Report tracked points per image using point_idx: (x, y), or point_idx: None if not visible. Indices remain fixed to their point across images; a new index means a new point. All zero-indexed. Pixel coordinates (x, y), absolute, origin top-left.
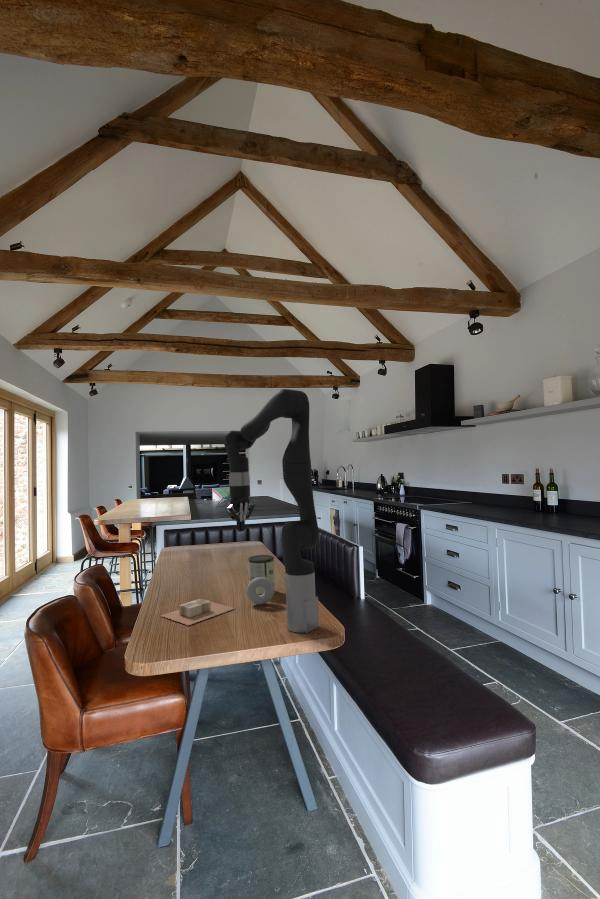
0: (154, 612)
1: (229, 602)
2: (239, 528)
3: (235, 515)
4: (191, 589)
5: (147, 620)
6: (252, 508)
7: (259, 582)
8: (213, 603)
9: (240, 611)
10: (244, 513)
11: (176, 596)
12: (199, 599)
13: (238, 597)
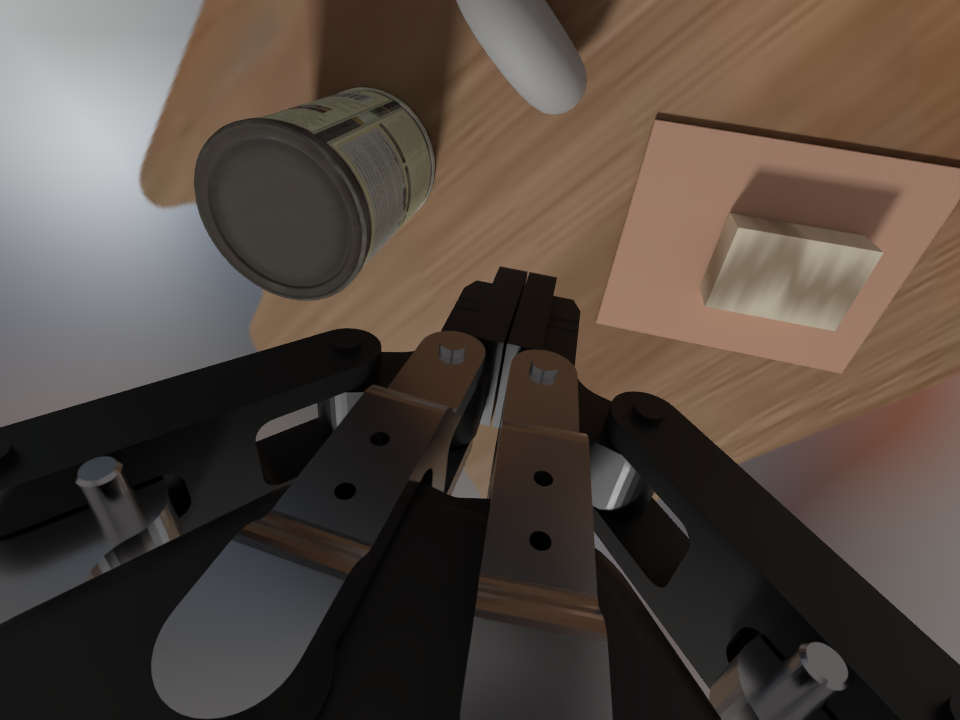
0: (787, 419)
1: (567, 218)
2: (578, 314)
3: (718, 488)
4: (489, 453)
5: (895, 387)
6: (79, 428)
7: (542, 10)
8: (623, 269)
9: (677, 62)
10: (442, 414)
11: None
12: (719, 299)
13: (486, 226)
